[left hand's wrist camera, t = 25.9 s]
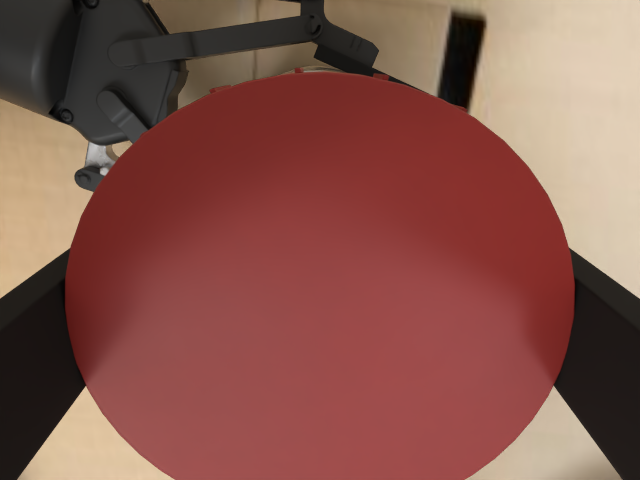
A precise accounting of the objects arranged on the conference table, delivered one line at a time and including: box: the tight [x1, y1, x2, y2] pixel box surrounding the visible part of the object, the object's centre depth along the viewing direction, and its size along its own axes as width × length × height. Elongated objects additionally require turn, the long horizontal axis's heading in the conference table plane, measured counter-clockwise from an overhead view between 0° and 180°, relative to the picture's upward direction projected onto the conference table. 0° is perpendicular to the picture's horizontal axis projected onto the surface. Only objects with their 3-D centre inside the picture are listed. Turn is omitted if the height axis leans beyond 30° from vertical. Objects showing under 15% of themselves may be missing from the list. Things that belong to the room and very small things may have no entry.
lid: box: [65, 68, 575, 480], centre depth 11 cm, size 11×11×2 cm
